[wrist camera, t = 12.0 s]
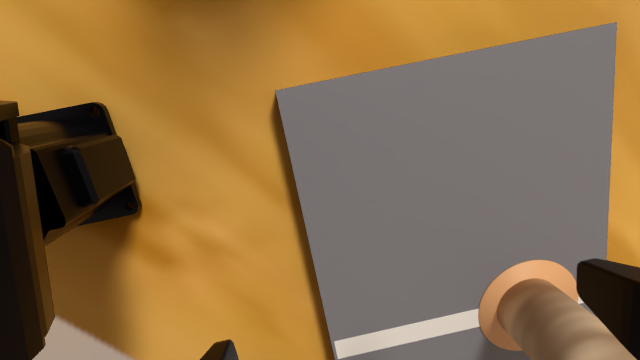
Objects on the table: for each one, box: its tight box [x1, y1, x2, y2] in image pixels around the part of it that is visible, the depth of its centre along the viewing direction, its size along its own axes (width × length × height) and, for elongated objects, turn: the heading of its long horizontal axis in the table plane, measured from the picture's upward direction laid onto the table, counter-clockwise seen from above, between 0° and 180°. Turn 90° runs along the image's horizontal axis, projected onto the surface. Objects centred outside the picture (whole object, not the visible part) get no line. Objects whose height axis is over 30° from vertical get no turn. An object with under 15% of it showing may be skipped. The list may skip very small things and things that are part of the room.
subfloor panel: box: [276, 22, 617, 360], centre depth 22 cm, size 19×22×2 cm
